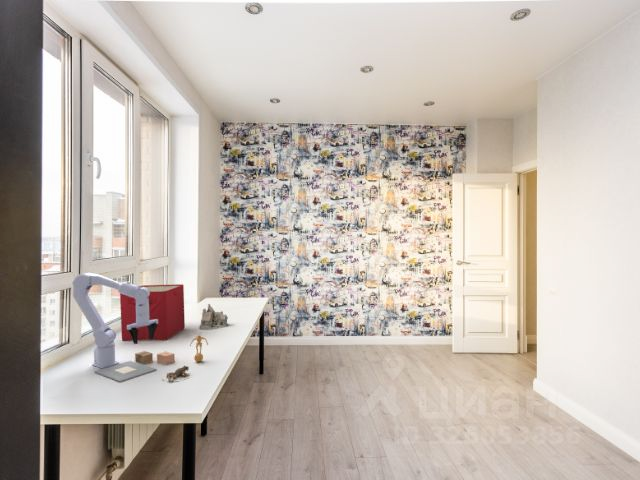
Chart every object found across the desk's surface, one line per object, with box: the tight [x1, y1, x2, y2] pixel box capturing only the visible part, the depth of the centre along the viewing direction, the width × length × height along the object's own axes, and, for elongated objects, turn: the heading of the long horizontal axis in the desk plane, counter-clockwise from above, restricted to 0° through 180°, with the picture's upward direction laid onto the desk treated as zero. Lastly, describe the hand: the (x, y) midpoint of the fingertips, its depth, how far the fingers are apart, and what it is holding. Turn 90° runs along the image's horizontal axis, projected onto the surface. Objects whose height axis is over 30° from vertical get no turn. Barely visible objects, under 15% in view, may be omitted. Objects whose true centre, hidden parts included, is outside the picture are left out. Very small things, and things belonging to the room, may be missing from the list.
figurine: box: [189, 335, 209, 363], centre depth 177 cm, size 8×6×12 cm
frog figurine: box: [161, 365, 191, 384], centre depth 158 cm, size 12×12×4 cm
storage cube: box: [119, 283, 186, 342], centre depth 230 cm, size 32×28×29 cm
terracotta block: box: [156, 351, 175, 365], centre depth 177 cm, size 7×5×4 cm, turn 55°
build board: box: [94, 360, 157, 383], centre depth 166 cm, size 22×16×1 cm
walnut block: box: [134, 350, 154, 365], centre depth 179 cm, size 7×5×4 cm, turn 55°
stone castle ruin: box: [198, 303, 229, 331], centre depth 246 cm, size 16×16×15 cm
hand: (143, 341), depth 179 cm, fingers open, 7 cm apart
